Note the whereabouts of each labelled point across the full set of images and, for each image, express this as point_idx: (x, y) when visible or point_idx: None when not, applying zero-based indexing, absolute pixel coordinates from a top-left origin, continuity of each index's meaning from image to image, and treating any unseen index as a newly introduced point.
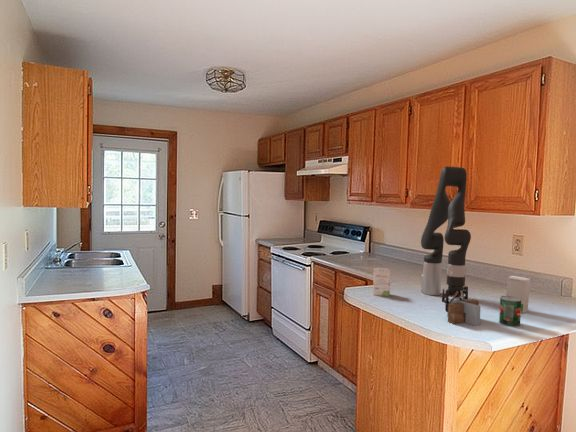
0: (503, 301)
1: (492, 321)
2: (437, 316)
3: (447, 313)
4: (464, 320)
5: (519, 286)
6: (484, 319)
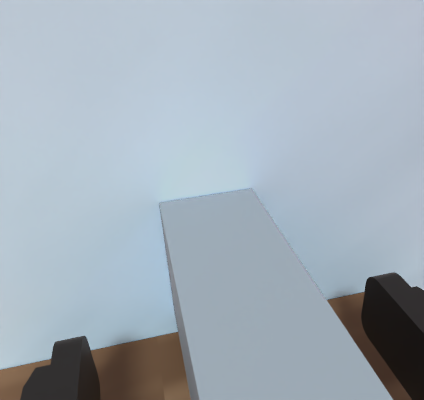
0: None
1: None
2: (6, 161)
3: (164, 227)
4: None
5: None
6: None
